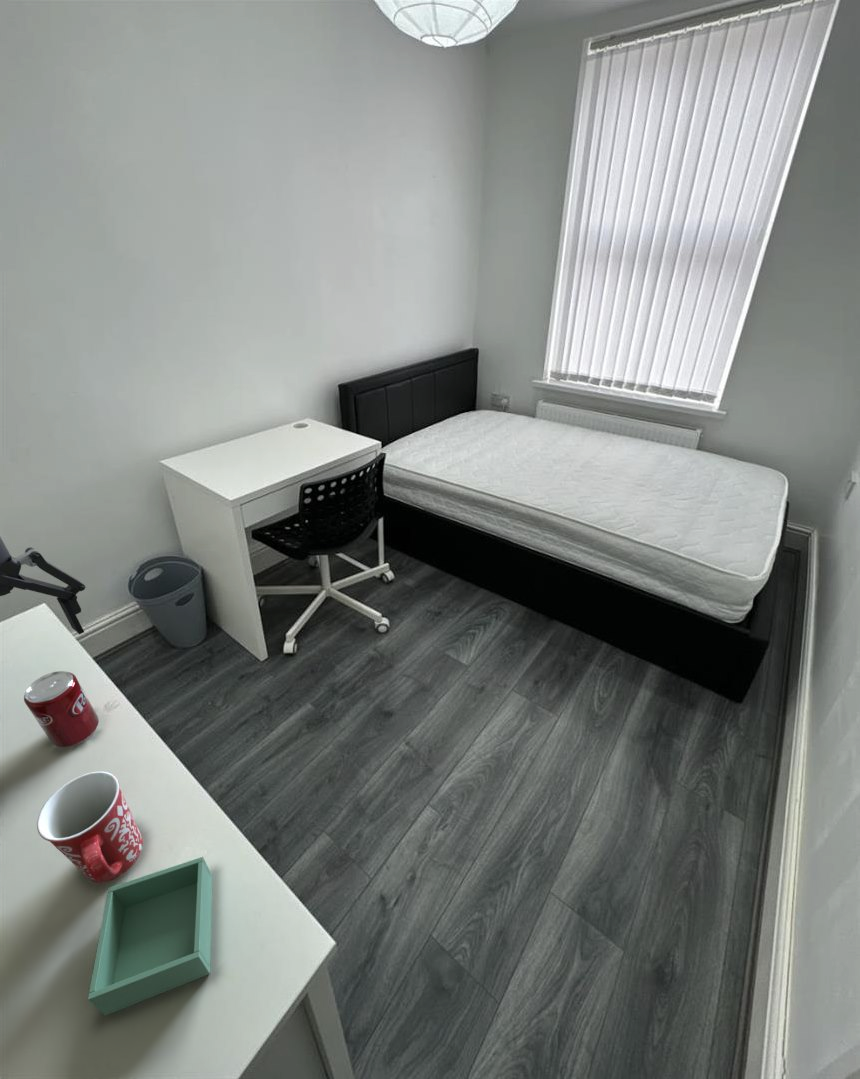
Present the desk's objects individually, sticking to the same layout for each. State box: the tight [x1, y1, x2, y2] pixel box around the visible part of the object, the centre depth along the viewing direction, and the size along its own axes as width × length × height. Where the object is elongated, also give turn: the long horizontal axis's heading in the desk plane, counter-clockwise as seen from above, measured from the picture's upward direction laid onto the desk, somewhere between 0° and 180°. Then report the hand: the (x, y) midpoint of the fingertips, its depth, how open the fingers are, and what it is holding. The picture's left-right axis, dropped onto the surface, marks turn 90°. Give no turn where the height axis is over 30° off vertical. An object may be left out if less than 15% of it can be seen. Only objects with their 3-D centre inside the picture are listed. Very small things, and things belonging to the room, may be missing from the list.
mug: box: [36, 771, 144, 884], centre depth 64 cm, size 13×9×14 cm
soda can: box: [23, 670, 100, 748], centre depth 82 cm, size 7×7×12 cm
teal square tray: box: [87, 856, 213, 1016], centre depth 59 cm, size 11×11×6 cm
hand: (31, 654), depth 75 cm, fingers open, 13 cm apart
